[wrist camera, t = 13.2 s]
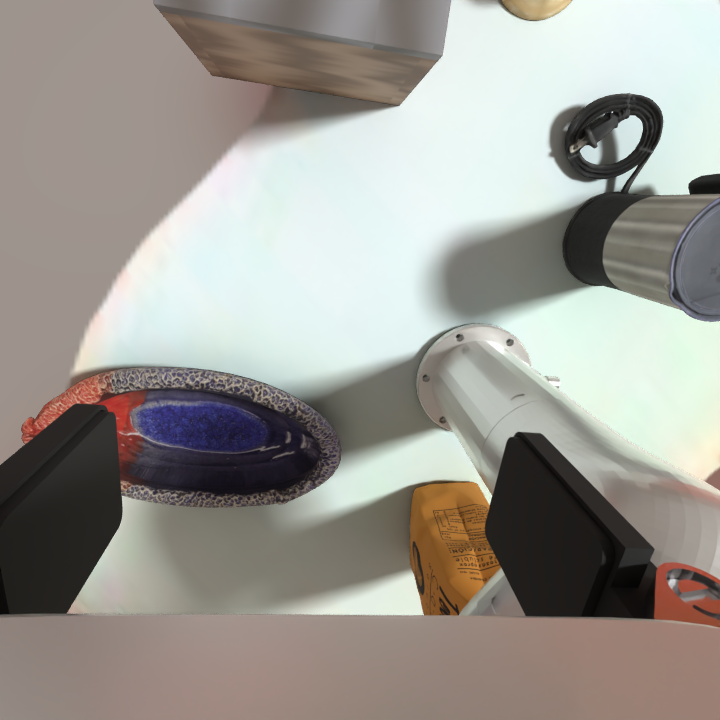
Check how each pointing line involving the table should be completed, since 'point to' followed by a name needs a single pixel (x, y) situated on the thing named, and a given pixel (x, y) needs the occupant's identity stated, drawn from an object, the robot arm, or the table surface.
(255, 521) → the table surface
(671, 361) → the table surface
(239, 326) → the table surface
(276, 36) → the slot box
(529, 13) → the hand bell
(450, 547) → the coffee package
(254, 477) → the dish
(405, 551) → the table surface
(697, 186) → the milk frother
